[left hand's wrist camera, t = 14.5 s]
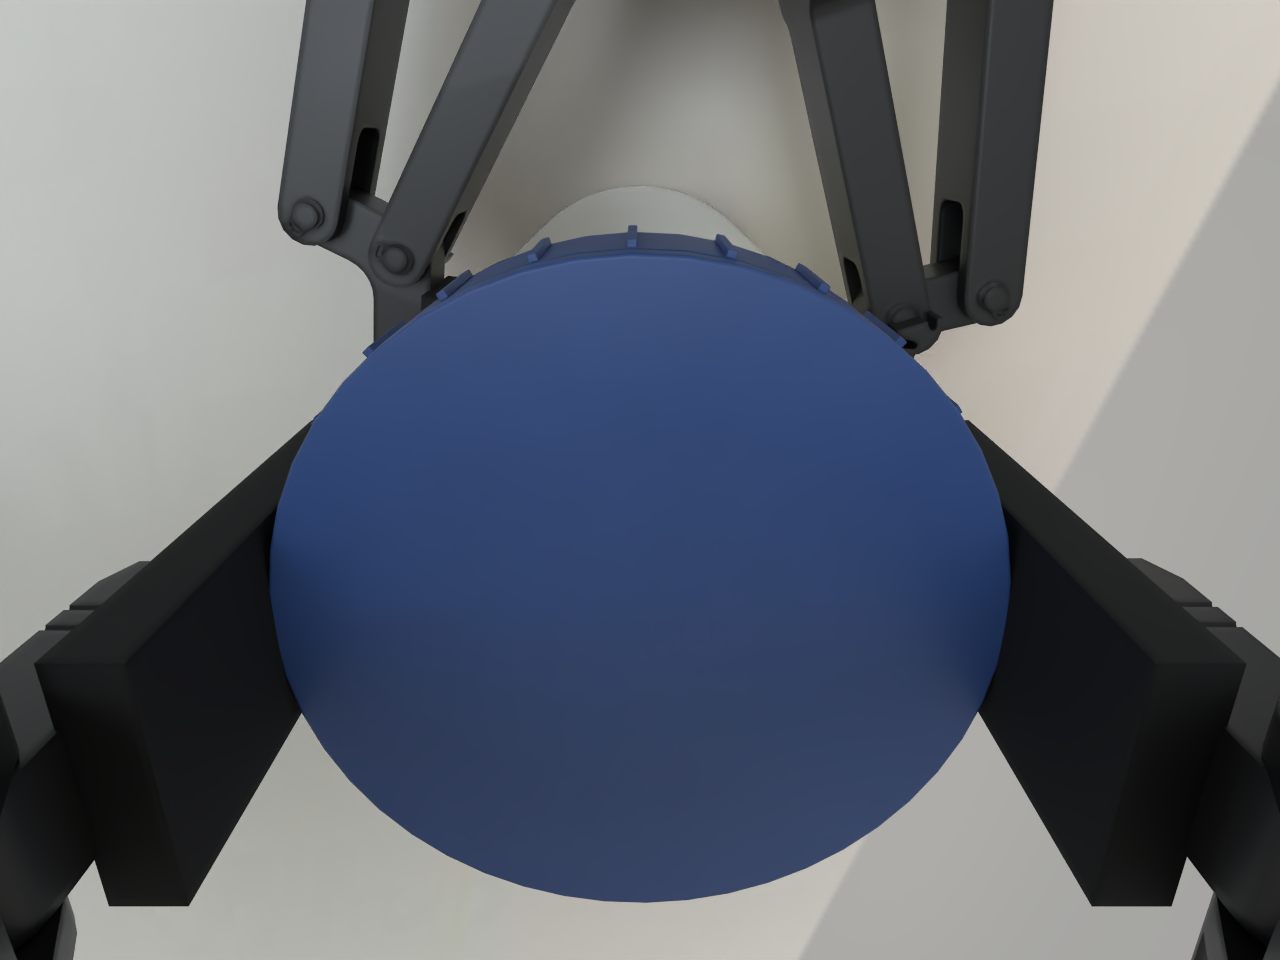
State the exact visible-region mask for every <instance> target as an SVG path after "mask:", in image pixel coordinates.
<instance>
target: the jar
mask: <svg viewBox="0 0 1280 960" xmlns="http://www.w3.org/2000/svg"><path fill="white" fill-rule="evenodd" d="M629 225H637V232H648V233H669V234H683V235H688V236H693V237H699V238H704V239H710V240H715V238H716V234H721V235H725V236H726V237H727V239H728V240H729V241H730V242H731V243H732V245H735V246H738V247H741V248H744V249H747V250H750V251H753V252H756V253H759V254H762V255H765V254H764V253H763V252H762V251H761V250H760V249H759V248H758V247H757V246H755V245H754V244H753V243H752V242H751V241H750V240H749V239H748V238H747V237H746V236H745V235H744V234H743V233H742V232H741V231H740V230H739V229H738V228H737V227H736V226H735V225H734V224H732V223H731V222H730V221H729V220H728V219H727V218H726V217H725V216H724V215H723V214H721V213H720V212H718V211H717V210H715V209H714V208H712V207H711V206H709V205H708V204H706V203H704V202H702V201H700V200H698V199H696V198H694V197H692V196H690V195H687V194H684V193H681V192H678V191H675V190H670V189H665V188H660V187H653V186H628V187H618V188H613V189H609V190H605V191H600V192H598V193H595V194H593V195H590V196H587V197H585V198H582V199H581V200H579V201H577V202H575V203H573V204H571V205H570V206H568V207H566V208H565V209H564V210H562V211H561V212H560V213H558V214H557V215H555V216H554V217H553V218H552V219H551V220H550V221H549V222H548V223H547V224H545V225H544V226H543V227H542V228H541V229H540V230H539V231H538V232H537V233H536V234H535V235H534V236H533V237H532V238H531V239H530V240H529V241H528V242H527V243H526V244H525V245H524V246H523V247H522V248H521V249H520V250H519V251H518V252H517V253H516V254H515V255H514V256H516V255H519V254H521V253H524V252H527V251H529V250H532V249H533V248H534V247H535V245H536V244H537V243H538V242H539V241H540V240H541V239H544V238H547V237H549V238H550V241H551V244H553V243H557V242H561V241H566V240H570V239H575V238H579V237H583V236H590V235H602V234H613V233H625V232H628V226H629ZM765 256H766V255H765Z"/></svg>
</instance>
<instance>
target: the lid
mask: <svg viewBox="0 0 1280 960" xmlns="http://www.w3.org/2000/svg"><path fill="white" fill-rule="evenodd" d="M829 289H830V286H829V285H828V284H827V283H825V282H824V281H823V280H822V279H820V278H819V277H818V276H817V275H815V274H814V273H813V272H812V271H810V270H809V269H808V268H807V267H805V266H803V265H802V264H800V263H799V264H798V265H797V267H796V269H793V268H791V267H789V266H787V265H785V264H783V263H781V262H779V261H777V260H775V259H773V258H771V257H768V256H765V255H762V254H759V253H756V252H753V251H750V250H747V249H744V248H741V247H738V246H735V245H732V243H731V242H730V241H729V240H728V239H727V237H726V236H725V235H721V234H716V238H715V240H710V239H704V238H699V237H693V236H688V235H683V234H669V233H648V232H637V225H629V226H628V232H625V233H613V234H602V235H590V236H583V237H579V238H575V239H570V240H566V241H561V242H557V243H553V244H551V241H550V238H549V237H547V238H544V239H541V240H540V241H539V242H538V243H537V244H536V245H535V247H534V248H533V249H532V250H529V251H527V252H524V253H521V254H519V255H516V256H513V257H511V258H508V259H505V260H503V261H500V262H498V263H496V264H494V265H492V266H490V267H488V268H487V269H485V270H483V271H481V272H479V273H477V274H476V275H474V276H473V275H472V274H471V272H470V270H467V271H466V272H464V273H462V274H461V275H460V276H458V277H457V278H456V279H455V280H453V281H452V282H451V283H450V284H448V285H447V286H446V287H444V288H443V289H442V290H441V291H439V292H438V293H437V294H436V296H437V297H438V299H437V300H436V301H435V302H433V303H432V304H431V305H429V306H428V307H427V308H425V309H424V310H423V311H421V312H420V313H419V314H418V315H416V316H415V317H414V318H413V319H412V320H410V321H409V322H408V323H406V322H405V321H404V320H401V321H400V322H399V323H398V324H396V325H395V326H394V327H393V328H391V329H390V330H389V331H387V332H386V333H385V334H384V335H382V336H381V337H380V338H379V339H377V340H376V341H375V342H373V343H372V344H371V345H370V346H368V347H367V348H366V349H365V350H364V351H363V354H364V355H365V356H366V357H367V359H366V360H365V361H364V362H363V363H362V364H361V365H360V366H359V367H358V368H357V369H356V370H355V371H354V372H353V373H352V374H351V375H350V376H349V377H348V378H347V379H346V380H345V381H344V382H343V383H342V384H341V386H340V387H339V388H338V390H337V391H336V392H335V394H334V395H333V396H332V398H331V399H330V400H329V402H328V403H327V405H326V406H325V407H324V409H323V410H322V411H321V412H320V413H319V414H318V415H316V416H315V417H314V419H313V421H312V423H311V425H312V426H311V428H310V430H309V432H308V434H307V436H306V438H305V440H304V442H303V444H302V445H301V447H300V449H299V451H298V453H297V455H296V457H295V459H294V461H293V463H292V465H291V468H290V471H289V474H288V477H287V480H286V483H285V486H284V489H283V492H282V495H281V498H280V501H279V503H278V507H277V512H276V518H275V524H274V530H273V535H272V541H271V547H270V573H269V592H270V598H271V604H272V610H273V616H274V622H275V627H276V633H277V639H278V644H279V648H280V653H281V658H282V663H283V667H284V671H285V675H286V677H287V680H288V682H289V684H290V686H291V689H292V691H293V693H294V695H295V698H296V700H297V702H298V705H299V707H300V709H301V711H302V714H303V715H304V717H305V719H306V720H307V722H308V723H309V725H310V727H311V728H312V730H313V732H314V733H315V735H316V736H317V738H318V740H319V741H320V743H321V745H322V746H323V748H324V749H325V751H326V752H327V753H328V754H329V756H330V757H331V758H332V759H333V761H334V762H335V763H336V764H337V765H338V767H339V768H340V769H341V770H342V772H343V773H344V774H345V775H346V777H347V778H348V779H349V780H350V781H351V782H352V783H353V784H354V785H355V786H356V787H357V788H358V789H359V790H360V791H361V792H362V793H363V794H364V795H365V796H366V797H367V798H368V799H369V800H370V801H371V802H372V803H373V804H374V805H375V806H376V807H377V808H378V809H379V810H381V811H382V812H383V813H385V814H386V815H387V816H389V817H390V818H391V819H393V820H394V821H395V822H396V823H398V824H399V825H400V826H402V827H403V828H404V829H406V830H407V831H408V832H410V833H411V834H412V835H414V836H416V837H417V838H419V839H421V840H422V841H424V842H425V843H427V844H429V845H430V846H432V847H434V848H435V849H437V850H439V851H440V852H442V853H444V854H445V855H447V856H449V857H451V858H454V859H456V860H458V861H460V862H462V863H464V864H466V865H469V866H471V867H473V868H475V869H477V870H479V871H482V872H484V873H486V874H489V875H492V876H495V877H498V878H501V879H504V880H507V881H510V882H512V883H515V884H518V885H521V886H524V887H529V888H533V889H537V890H541V891H546V892H550V893H554V894H558V895H563V896H569V897H577V898H584V899H592V900H600V901H614V902H643V903H647V902H663V901H679V900H690V899H696V898H702V897H709V896H715V895H721V894H727V893H731V892H735V891H739V890H742V889H746V888H750V887H754V886H757V885H761V884H765V883H768V882H771V881H774V880H776V879H779V878H782V877H784V876H787V875H790V874H792V873H795V872H797V871H800V870H803V869H805V868H808V867H810V866H812V865H814V864H816V863H818V862H820V861H822V860H824V859H826V858H828V857H830V856H831V855H833V854H835V853H837V852H839V851H841V850H843V849H845V848H846V847H848V846H850V845H851V844H853V843H854V842H856V841H857V840H859V839H860V838H862V837H863V836H865V835H867V834H868V833H870V832H871V831H873V830H874V829H876V828H877V827H879V826H880V825H881V824H882V823H883V822H885V821H886V820H887V819H888V818H890V817H891V816H892V815H893V814H894V813H896V812H897V811H898V810H899V809H900V808H902V807H903V806H904V805H905V804H907V803H908V802H909V801H910V800H911V799H912V798H913V797H914V796H915V795H916V794H917V793H918V792H919V791H920V790H921V789H922V788H923V787H924V786H925V785H926V783H927V782H928V781H929V780H930V779H931V778H932V777H933V776H934V775H935V774H936V773H937V772H938V771H939V769H940V768H941V767H942V765H943V764H944V763H945V761H946V760H947V759H948V757H949V756H950V755H951V753H952V752H953V751H954V749H955V748H956V747H957V745H958V744H959V743H960V741H961V740H962V739H963V737H964V735H965V733H966V731H967V730H968V728H969V726H970V724H971V722H972V721H973V719H974V717H975V715H976V714H977V712H978V710H979V708H980V707H981V705H982V703H983V700H984V698H985V695H986V693H987V690H988V688H989V685H990V683H991V680H992V678H993V675H994V673H995V670H996V668H997V665H998V660H999V654H1000V649H1001V644H1002V639H1003V634H1004V629H1005V623H1006V617H1007V611H1008V605H1009V599H1010V588H1011V571H1010V556H1009V540H1008V533H1007V529H1006V524H1005V520H1004V515H1003V511H1002V506H1001V502H1000V497H999V493H998V490H997V488H996V485H995V483H994V480H993V478H992V475H991V473H990V470H989V468H988V465H987V462H986V460H985V457H984V455H983V452H982V450H981V448H980V446H979V445H978V443H977V441H976V440H975V438H974V436H973V434H972V433H971V431H970V429H969V428H968V426H967V424H966V422H965V421H964V419H963V417H962V416H961V414H960V413H962V410H961V409H960V407H959V405H957V404H956V403H955V402H954V401H953V400H952V399H950V398H949V397H948V396H947V395H946V394H945V393H944V392H943V390H942V389H941V388H940V387H939V385H938V384H937V383H936V382H935V380H934V379H933V378H932V377H931V375H930V374H929V373H928V372H927V371H926V370H925V369H924V368H923V367H922V366H921V365H920V364H919V363H918V362H917V361H915V360H914V359H913V358H912V357H911V356H910V355H909V354H908V353H907V352H906V351H905V350H903V349H902V347H903V346H904V345H905V344H906V343H907V342H906V341H905V340H904V339H903V338H902V337H901V336H900V335H898V334H897V333H896V332H895V331H893V330H892V329H891V328H889V327H888V326H887V325H886V324H884V323H883V322H882V321H880V320H879V319H878V318H877V317H875V316H874V315H873V314H871V313H870V312H869V311H867V312H866V313H865V314H864V315H862V314H861V313H860V312H859V311H857V310H856V309H855V308H854V307H852V306H851V305H850V304H849V303H848V302H846V301H845V300H843V299H842V298H840V297H839V296H837V295H836V294H834V293H833V292H831V291H830V290H829Z"/></svg>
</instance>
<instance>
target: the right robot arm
mask: <svg viewBox="0 0 1280 960" xmlns="http://www.w3.org/2000/svg"><path fill="white" fill-rule="evenodd" d="M1053 1H1054V0H947V11H946V26H945V41H944V57H943V72H942V88H941V103H940V118H939V134H938V149H937V164H936V180H935V195H934V211H933V226H932V241H931V257H930V264H928V265H924V266H923V264H922V258H921V253H920V247H919V242H918V236H917V231H916V225H915V220H914V214H913V209H912V203H911V198H910V192H909V187H908V181H907V176H906V170H905V165H904V159H903V154H902V148H901V143H900V137H899V132H898V126H897V121H896V115H895V110H894V104H893V99H892V93H891V88H890V82H889V77H888V71H887V66H886V60H885V55H884V49H883V44H882V38H881V33H880V27H879V22H878V16H877V11H876V5H875V0H779V4H780V8H781V12H782V15H783V18H784V20H785V22H786V24H787V26H788V29H789V32H790V36H791V40H792V45H793V49H794V54H795V59H796V63H797V68H798V72H799V77H800V82H801V86H802V91H803V95H804V100H805V105H806V109H807V114H808V118H809V123H810V128H811V132H812V137H813V141H814V146H815V151H816V155H817V160H818V164H819V169H820V174H821V178H822V183H823V188H824V192H825V197H826V201H827V206H828V211H829V215H830V220H831V224H832V229H833V234H834V238H835V243H836V247H837V252H838V257H839V261H840V266H841V270H842V275H843V280H844V284H845V289H846V293H847V298H848V303H849V304H850V305H851V306H852V307H854V308H855V309H856V310H857V311H859V312H860V313H861V314H862V315H864V314H865V313H866V312H867V311H869V312H870V313H871V314H873V315H874V316H875V317H877V318H878V319H879V320H880V321H882V322H883V323H884V324H886V325H887V326H888V327H889V328H891V329H892V330H893V331H895V332H896V333H897V334H898V335H900V336H901V337H902V338H903V339H904V340H905V341H906V342H907V343H906V344H905V345H904V346H903V347H902V349H903V350H905V351H906V352H907V353H908V354H909V355H910V356H911V357H912V358H913V359H914V356H915V354H919V353H921V352H923V351H925V350H927V349H929V348H930V347H931V346H932V345H933V344H934V343H935V342H936V341H937V340H938V338H939V335H940V333H941V331H944V330H948V329H953V328H957V327H962V326H966V325H970V324H975V323H978V324H980V325H986V326H994V325H998V324H1002V323H1003V322H1005V321H1006V320H1008V319H1009V318H1011V317H1012V316H1013V314H1014V313H1015V312H1016V310H1017V309H1018V308H1019V305H1020V302H1021V299H1022V294H1023V284H1024V275H1025V266H1026V256H1027V247H1028V237H1029V228H1030V218H1031V209H1032V199H1033V190H1034V180H1035V171H1036V161H1037V152H1038V143H1039V133H1040V124H1041V114H1042V105H1043V95H1044V86H1045V76H1046V67H1047V57H1048V48H1049V39H1050V29H1051V20H1052V10H1053ZM574 2H575V0H482V1H481V3H480V5H479V7H478V9H477V12H476V14H475V16H474V18H473V20H472V23H471V25H470V27H469V29H468V31H467V33H466V36H465V38H464V40H463V42H462V44H461V46H460V49H459V51H458V53H457V55H456V57H455V59H454V62H453V64H452V66H451V68H450V70H449V73H448V75H447V77H446V79H445V81H444V83H443V86H442V88H441V90H440V92H439V94H438V96H437V99H436V101H435V103H434V105H433V107H432V110H431V112H430V114H429V116H428V118H427V120H426V123H425V125H424V127H423V129H422V131H421V133H420V136H419V138H418V140H417V142H416V144H415V146H414V149H413V151H412V153H411V155H410V157H409V160H408V162H407V164H406V166H405V168H404V170H403V173H402V175H401V177H400V179H399V181H398V183H397V186H396V188H395V190H394V192H393V194H392V197H391V199H390V201H389V203H388V202H386V201H384V200H382V199H380V198H378V197H376V196H375V191H376V185H377V179H378V174H379V168H380V163H381V157H382V152H383V146H384V140H385V135H386V129H387V124H388V118H389V112H390V107H391V101H392V96H393V90H394V84H395V79H396V73H397V68H398V62H399V56H400V51H401V45H402V40H403V34H404V28H405V23H406V17H407V12H408V6H409V0H306V7H305V14H304V21H303V28H302V36H301V43H300V50H299V57H298V64H297V72H296V79H295V86H294V93H293V100H292V107H291V115H290V122H289V129H288V136H287V143H286V150H285V158H284V165H283V172H282V179H281V186H280V194H279V201H278V219H279V221H280V223H281V225H282V228H283V230H284V231H285V232H286V233H287V234H288V235H289V236H290V237H291V238H292V239H293V240H295V241H297V242H299V243H301V244H303V245H313V246H315V245H319V246H321V247H323V248H325V249H327V250H329V251H331V252H333V253H335V254H337V255H339V256H341V257H343V258H345V259H348V260H349V261H351V262H353V263H354V264H356V265H357V266H358V267H359V268H360V269H361V270H362V271H363V272H364V273H365V274H366V276H367V278H368V279H369V281H370V283H371V286H372V289H373V296H374V342H375V341H376V340H377V339H379V338H380V337H381V336H382V335H384V334H385V333H386V332H387V331H389V330H390V329H391V328H393V327H394V326H395V325H396V324H398V323H399V322H400V321H401V320H404V321H405V322H406V323H408V322H409V321H410V320H412V319H413V318H414V317H415V316H416V315H418V314H419V313H420V312H421V311H423V310H424V309H425V308H427V307H428V306H429V305H431V304H432V303H433V302H435V301H436V300H437V299H438V297H437V296H436V294H437V293H438V292H439V291H441V290H442V289H443V288H444V287H446V286H447V285H448V284H450V283H451V282H452V281H453V280H455V279H456V278H457V277H453V276H447V277H446V278H445V279H444V265H445V263H446V262H448V261H449V259H450V258H451V257H452V256H453V253H451V250H452V248H453V246H454V244H455V242H456V240H457V238H458V236H459V234H460V232H461V229H462V227H463V225H464V223H465V221H466V219H467V217H468V215H469V213H470V211H471V209H472V207H473V205H474V203H475V201H476V199H477V197H478V195H479V193H480V191H481V189H482V187H483V185H484V183H485V181H486V179H487V177H488V175H489V173H490V171H491V169H492V167H493V165H494V163H495V161H496V159H497V157H498V155H499V153H500V151H501V149H502V147H503V145H504V143H505V141H506V139H507V137H508V135H509V133H510V131H511V129H512V127H513V125H514V123H515V120H516V118H517V116H518V114H519V112H520V110H521V108H522V106H523V104H524V102H525V100H526V98H527V96H528V94H529V92H530V90H531V88H532V86H533V84H534V82H535V80H536V78H537V76H538V74H539V72H540V70H541V68H542V66H543V64H544V62H545V60H546V58H547V56H548V54H549V52H550V50H551V48H552V46H553V44H554V42H555V40H556V38H557V36H558V34H559V32H560V30H561V28H562V26H563V24H564V22H565V20H566V18H567V16H568V14H569V11H570V9H571V7H572V6H573V4H574Z"/></svg>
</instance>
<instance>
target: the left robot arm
mask: <svg viewBox="0 0 1280 960" xmlns="http://www.w3.org/2000/svg"><path fill="white" fill-rule="evenodd" d="M312 421H313V420H312ZM312 421H311V422H309V423H308V424H307V425H306V426H305V427H304V428H303V429H301V430H300V431H299V432H298V433H297V434H296V435H295V436H293V437H292V438H291V439H290V440H289V441H288V442H287V443H285V444H284V445H283V446H282V447H281V448H280V449H279V450H277V451H276V452H275V453H274V454H273V455H272V456H271V457H269V458H268V459H267V460H266V461H265V462H264V463H263V464H261V465H260V466H259V467H258V468H257V469H256V470H255V471H253V472H252V473H251V474H250V475H249V476H248V477H246V478H245V479H244V480H243V481H242V482H241V483H240V484H238V485H237V486H236V487H235V488H234V489H233V490H232V491H230V492H229V493H228V494H227V495H226V496H225V497H224V498H222V499H221V500H220V501H219V502H218V503H217V504H216V505H214V506H213V507H212V508H211V509H210V510H209V511H208V512H206V513H205V514H204V515H203V516H202V517H201V518H200V519H198V520H197V521H196V522H195V523H194V524H193V525H192V526H190V527H189V528H188V529H187V530H186V531H185V532H184V533H182V534H181V535H180V536H179V537H178V538H177V539H176V540H174V541H173V542H172V543H171V544H170V545H169V546H168V547H166V548H165V549H164V550H163V551H162V552H161V553H160V554H158V555H157V556H156V557H155V558H154V559H153V560H152V561H139V562H137V563H135V564H133V565H131V566H129V567H127V568H125V569H123V570H121V571H119V572H117V573H115V574H113V575H111V576H109V577H107V578H105V579H103V580H101V581H99V582H97V583H96V584H95V585H94V586H92V587H91V588H90V589H89V590H88V591H86V592H85V593H84V594H83V595H82V596H80V597H79V598H78V599H77V600H76V601H74V602H73V603H72V604H71V605H70V609H69V610H63V611H62V612H61V613H60V614H59V615H57V616H56V617H55V618H54V619H53V620H51V621H50V622H49V623H48V624H47V625H46V628H45V631H38V632H37V633H36V634H34V635H33V636H32V637H31V638H30V639H28V640H27V641H26V642H25V643H24V644H22V645H21V646H20V647H19V648H17V649H16V650H15V651H14V652H13V653H11V654H10V655H9V656H8V657H7V658H5V659H4V660H3V661H2V662H1V663H0V960H73V955H74V949H75V942H76V936H77V931H76V924H75V918H74V914H73V911H72V908H71V905H70V902H69V899H68V894H69V893H70V892H71V890H72V889H73V888H74V886H75V885H76V884H77V882H78V881H79V880H80V878H81V877H82V876H83V874H84V873H85V872H86V870H87V869H88V868H89V866H90V865H91V864H92V862H93V861H94V860H95V863H96V866H97V869H98V872H99V875H100V879H101V882H102V885H103V888H104V892H105V895H106V898H107V901H108V904H109V906H189V905H190V903H191V901H192V900H193V898H194V896H195V894H196V893H197V891H198V889H199V888H200V886H201V884H202V882H203V881H204V879H205V877H206V876H207V874H208V872H209V870H210V869H211V867H212V865H213V864H214V862H215V860H216V858H217V857H218V855H219V853H220V852H221V850H222V848H223V846H224V845H225V843H226V841H227V840H228V838H229V836H230V834H231V833H232V831H233V829H234V828H235V826H236V824H237V823H238V821H239V819H240V817H241V816H242V814H243V812H244V811H245V809H246V807H247V805H248V804H249V802H250V800H251V799H252V797H253V795H254V793H255V792H256V790H257V788H258V787H259V785H260V783H261V781H262V780H263V778H264V776H265V775H266V773H267V771H268V769H269V768H270V766H271V764H272V763H273V761H274V759H275V757H276V756H277V754H278V752H279V751H280V749H281V747H282V745H283V744H284V742H285V740H286V739H287V737H288V735H289V733H290V732H291V730H292V728H293V727H294V725H295V723H296V721H297V720H298V718H299V716H300V715H301V713H302V711H301V709H300V707H299V705H298V702H297V700H296V698H295V695H294V693H293V691H292V689H291V686H290V684H289V682H288V680H287V677H286V675H285V671H284V667H283V663H282V658H281V653H280V648H279V644H278V639H277V633H276V627H275V622H274V616H273V610H272V604H271V598H270V592H269V573H270V547H271V541H272V535H273V530H274V524H275V518H276V512H277V507H278V503H279V501H280V498H281V495H282V492H283V489H284V486H285V483H286V480H287V477H288V474H289V471H290V468H291V465H292V463H293V461H294V459H295V457H296V455H297V453H298V451H299V449H300V447H301V445H302V444H303V442H304V440H305V438H306V436H307V434H308V432H309V430H310V428H311V426H312V425H311V423H312ZM964 421H965V422H966V424H967V426H968V428H969V429H970V431H971V433H972V434H973V436H974V438H975V440H976V441H977V443H978V445H979V446H980V448H981V450H982V452H983V455H984V457H985V460H986V462H987V465H988V468H989V470H990V473H991V475H992V478H993V480H994V483H995V485H996V488H997V490H998V493H999V497H1000V502H1001V506H1002V511H1003V515H1004V520H1005V524H1006V529H1007V533H1008V540H1009V556H1010V571H1011V588H1010V599H1009V605H1008V611H1007V617H1006V623H1005V629H1004V634H1003V639H1002V644H1001V649H1000V654H999V660H998V665H997V668H996V670H995V673H994V675H993V678H992V680H991V683H990V685H989V688H988V690H987V693H986V695H985V698H984V700H983V703H982V705H981V707H980V708H979V710H978V712H979V714H980V716H981V717H982V719H983V721H984V722H985V724H986V726H987V727H988V729H989V731H990V733H991V734H992V736H993V738H994V740H995V741H996V743H997V745H998V746H999V748H1000V750H1001V751H1002V753H1003V755H1004V757H1005V758H1006V760H1007V762H1008V763H1009V765H1010V767H1011V769H1012V770H1013V772H1014V774H1015V775H1016V777H1017V779H1018V781H1019V782H1020V784H1021V786H1022V787H1023V789H1024V791H1025V793H1026V794H1027V796H1028V798H1029V799H1030V801H1031V803H1032V805H1033V806H1034V808H1035V810H1036V811H1037V813H1038V815H1039V817H1040V818H1041V820H1042V822H1043V823H1044V825H1045V827H1046V828H1047V830H1048V832H1049V834H1050V835H1051V837H1052V839H1053V840H1054V842H1055V844H1056V846H1057V847H1058V849H1059V851H1060V853H1061V854H1062V856H1063V858H1064V859H1065V861H1066V863H1067V864H1068V866H1069V868H1070V870H1071V871H1072V873H1073V875H1074V876H1075V878H1076V880H1077V882H1078V883H1079V885H1080V887H1081V888H1082V890H1083V892H1084V894H1085V895H1086V897H1087V899H1088V900H1089V902H1090V904H1091V906H1172V903H1173V900H1174V897H1175V893H1176V890H1177V887H1178V884H1179V880H1180V877H1181V874H1182V871H1183V868H1184V864H1185V861H1186V858H1187V857H1188V858H1189V860H1190V861H1191V862H1192V863H1193V865H1194V866H1195V868H1196V869H1197V870H1198V871H1199V873H1200V874H1201V875H1202V877H1203V878H1204V879H1205V881H1206V882H1207V883H1208V885H1209V886H1210V887H1211V889H1212V890H1213V891H1214V893H1213V896H1212V899H1211V902H1210V905H1209V908H1208V911H1207V914H1206V917H1205V920H1204V923H1203V926H1202V929H1201V932H1200V935H1199V938H1198V941H1197V944H1196V947H1195V950H1194V953H1193V956H1192V959H1191V960H1280V658H1279V657H1278V656H1277V655H1276V654H1274V653H1273V652H1272V651H1271V650H1270V649H1268V648H1267V647H1266V646H1265V645H1263V644H1262V643H1261V642H1260V641H1259V640H1257V639H1256V638H1255V637H1254V636H1252V635H1251V634H1250V633H1249V632H1248V631H1246V630H1245V629H1244V628H1243V627H1236V622H1235V621H1234V620H1233V619H1232V618H1231V617H1229V616H1228V615H1227V614H1226V613H1224V612H1223V611H1222V610H1221V609H1220V608H1218V607H1212V602H1211V601H1210V600H1209V599H1207V598H1206V597H1205V596H1204V595H1202V594H1201V593H1200V592H1199V591H1198V590H1196V589H1195V588H1194V587H1193V586H1192V585H1190V584H1189V583H1188V582H1187V581H1185V580H1184V579H1183V578H1181V577H1179V576H1177V575H1175V574H1173V573H1171V572H1168V571H1167V570H1164V569H1162V568H1160V567H1158V566H1156V565H1154V564H1152V563H1150V562H1148V561H1146V560H1144V559H1142V558H1126V557H1124V556H1123V555H1122V554H1121V553H1120V552H1119V551H1117V550H1116V549H1115V548H1114V547H1113V546H1112V545H1111V544H1109V543H1108V542H1107V541H1106V540H1105V539H1104V538H1103V537H1102V536H1100V535H1099V534H1098V533H1097V532H1096V531H1095V530H1094V529H1092V528H1091V527H1090V526H1089V525H1088V524H1087V523H1085V522H1084V521H1083V520H1082V519H1081V518H1080V517H1079V516H1077V515H1076V514H1075V513H1074V512H1073V511H1072V510H1071V509H1069V508H1068V507H1067V506H1066V505H1065V504H1064V503H1063V502H1061V501H1060V500H1059V499H1058V498H1057V497H1056V496H1055V495H1053V494H1052V493H1051V492H1050V491H1049V490H1048V489H1047V488H1045V487H1044V486H1043V485H1042V484H1041V483H1040V482H1039V481H1037V480H1036V479H1035V478H1034V477H1033V476H1032V475H1031V474H1029V473H1028V472H1027V471H1026V470H1025V469H1024V468H1023V467H1021V466H1020V465H1019V464H1018V463H1017V462H1016V461H1015V460H1013V459H1012V458H1011V457H1010V456H1009V455H1008V454H1007V453H1005V452H1004V451H1003V450H1002V449H1001V448H1000V447H999V446H997V445H996V444H995V443H994V442H993V441H992V440H991V439H989V438H988V437H987V436H986V435H985V434H984V433H983V432H981V431H980V430H979V429H978V428H977V427H976V426H975V425H973V424H972V423H971V422H970V421H969V420H964Z"/></svg>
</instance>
